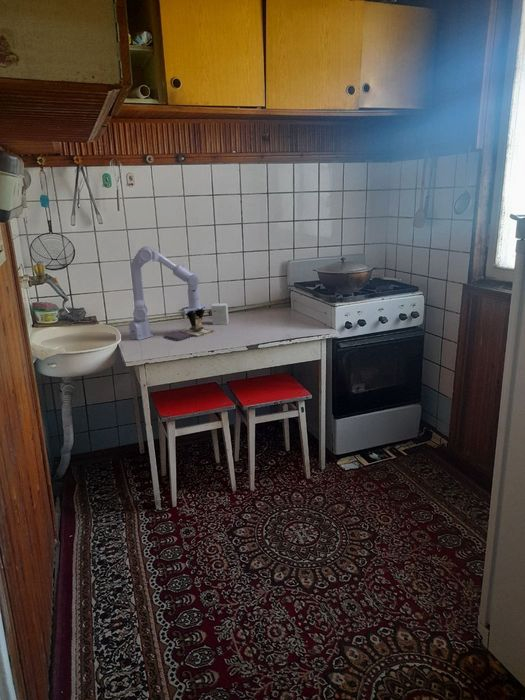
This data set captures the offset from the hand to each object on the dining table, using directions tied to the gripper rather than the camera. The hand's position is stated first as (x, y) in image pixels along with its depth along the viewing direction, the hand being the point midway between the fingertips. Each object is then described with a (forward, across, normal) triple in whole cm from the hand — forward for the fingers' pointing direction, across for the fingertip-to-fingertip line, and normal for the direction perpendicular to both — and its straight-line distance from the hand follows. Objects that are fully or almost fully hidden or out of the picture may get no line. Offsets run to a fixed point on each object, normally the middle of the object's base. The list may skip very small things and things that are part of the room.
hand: (196, 324), depth 249 cm
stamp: (+2, 0, 0) cm, 2 cm away
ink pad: (+4, -12, +1) cm, 12 cm away
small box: (+4, +20, +2) cm, 20 cm away
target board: (+4, 0, 0) cm, 4 cm away
